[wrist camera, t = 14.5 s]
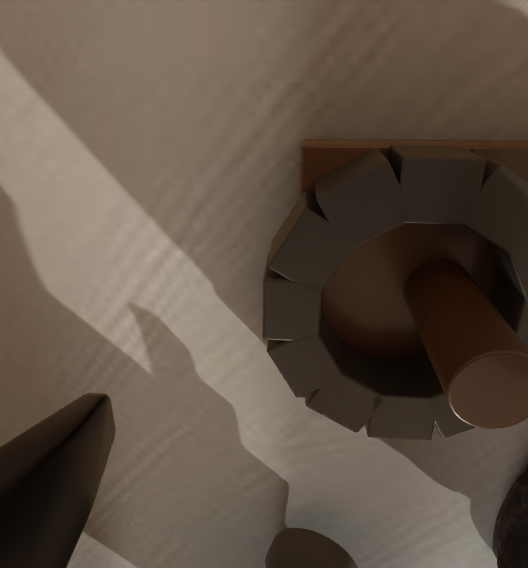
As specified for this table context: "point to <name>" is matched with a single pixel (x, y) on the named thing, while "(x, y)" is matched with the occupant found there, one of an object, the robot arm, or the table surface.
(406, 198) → the ring
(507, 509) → the figurine
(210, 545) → the table surface
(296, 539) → the character figurine
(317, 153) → the stand
